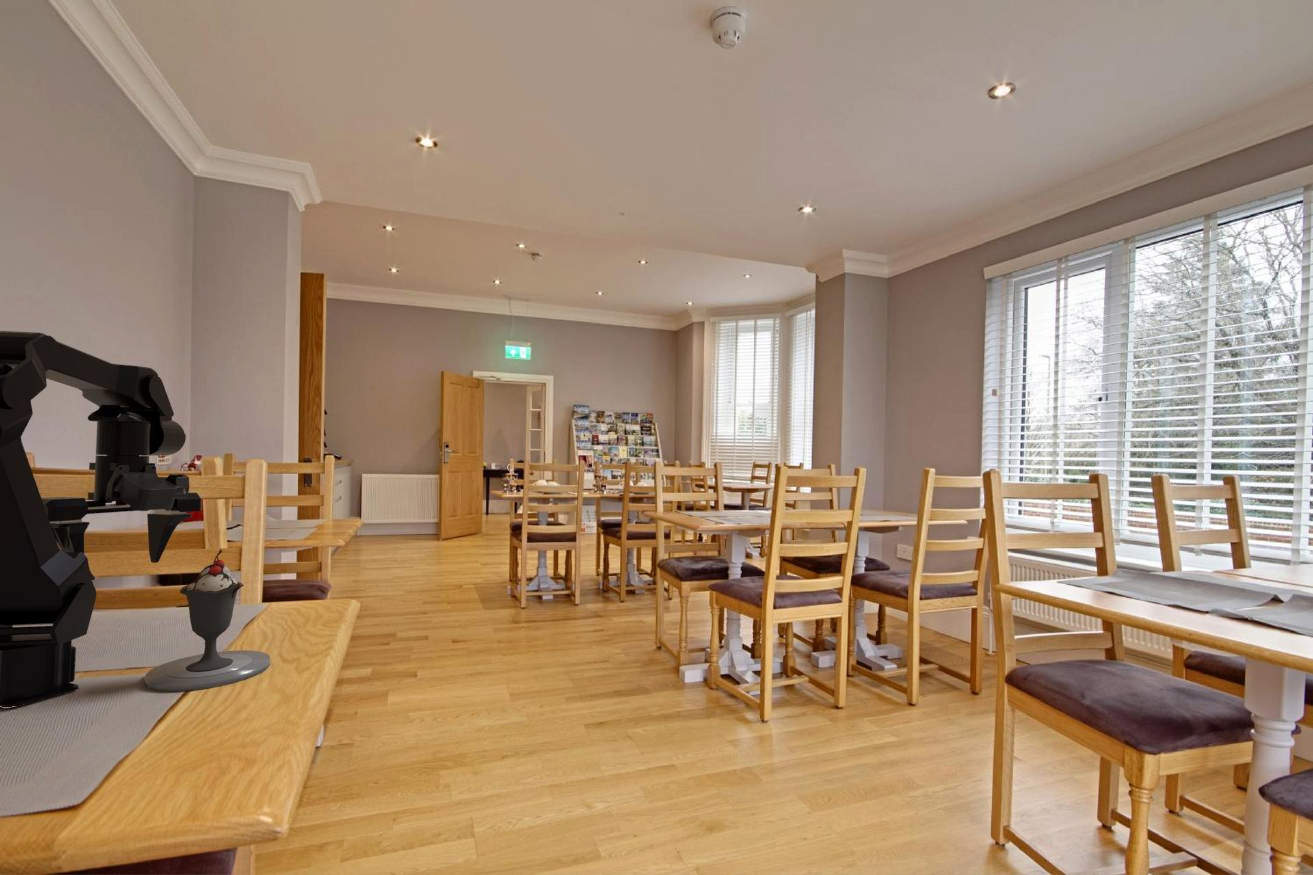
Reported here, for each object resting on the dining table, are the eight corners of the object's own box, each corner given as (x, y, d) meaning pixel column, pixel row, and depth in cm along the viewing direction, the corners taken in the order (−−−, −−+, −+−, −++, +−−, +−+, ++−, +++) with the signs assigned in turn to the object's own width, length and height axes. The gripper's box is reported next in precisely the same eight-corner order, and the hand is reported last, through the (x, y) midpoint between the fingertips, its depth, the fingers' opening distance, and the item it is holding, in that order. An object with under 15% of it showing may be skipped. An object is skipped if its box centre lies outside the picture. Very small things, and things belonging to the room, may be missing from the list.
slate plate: (192, 697, 71) (192, 689, 71) (119, 682, 76) (119, 674, 76) (292, 662, 84) (293, 656, 84) (224, 651, 88) (225, 645, 88)
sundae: (217, 674, 76) (221, 552, 77) (163, 673, 76) (168, 551, 77) (253, 657, 83) (257, 544, 83) (203, 656, 83) (207, 543, 83)
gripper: (78, 455, 75) (72, 584, 75) (229, 456, 93) (225, 561, 92) (23, 454, 79) (17, 577, 79) (178, 456, 97) (174, 556, 96)
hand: (118, 567), depth 86 cm, fingers open, 9 cm apart
